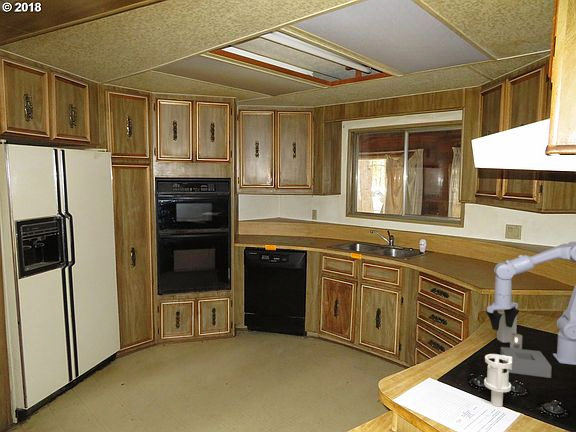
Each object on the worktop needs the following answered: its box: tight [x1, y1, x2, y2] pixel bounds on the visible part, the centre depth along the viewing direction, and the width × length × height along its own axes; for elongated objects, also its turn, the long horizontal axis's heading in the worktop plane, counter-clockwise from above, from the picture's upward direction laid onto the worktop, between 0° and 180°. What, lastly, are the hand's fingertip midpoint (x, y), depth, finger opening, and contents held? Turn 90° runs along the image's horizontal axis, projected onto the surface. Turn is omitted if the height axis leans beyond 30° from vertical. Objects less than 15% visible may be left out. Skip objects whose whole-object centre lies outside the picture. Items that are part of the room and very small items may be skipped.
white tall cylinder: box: [483, 353, 512, 408], centre depth 117 cm, size 7×7×15 cm
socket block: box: [500, 346, 552, 379], centre depth 142 cm, size 13×13×4 cm
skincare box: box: [496, 311, 518, 343], centre depth 166 cm, size 6×4×12 cm
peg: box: [509, 332, 523, 349], centre depth 154 cm, size 4×4×7 cm
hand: (502, 328), depth 154 cm, fingers open, 7 cm apart
